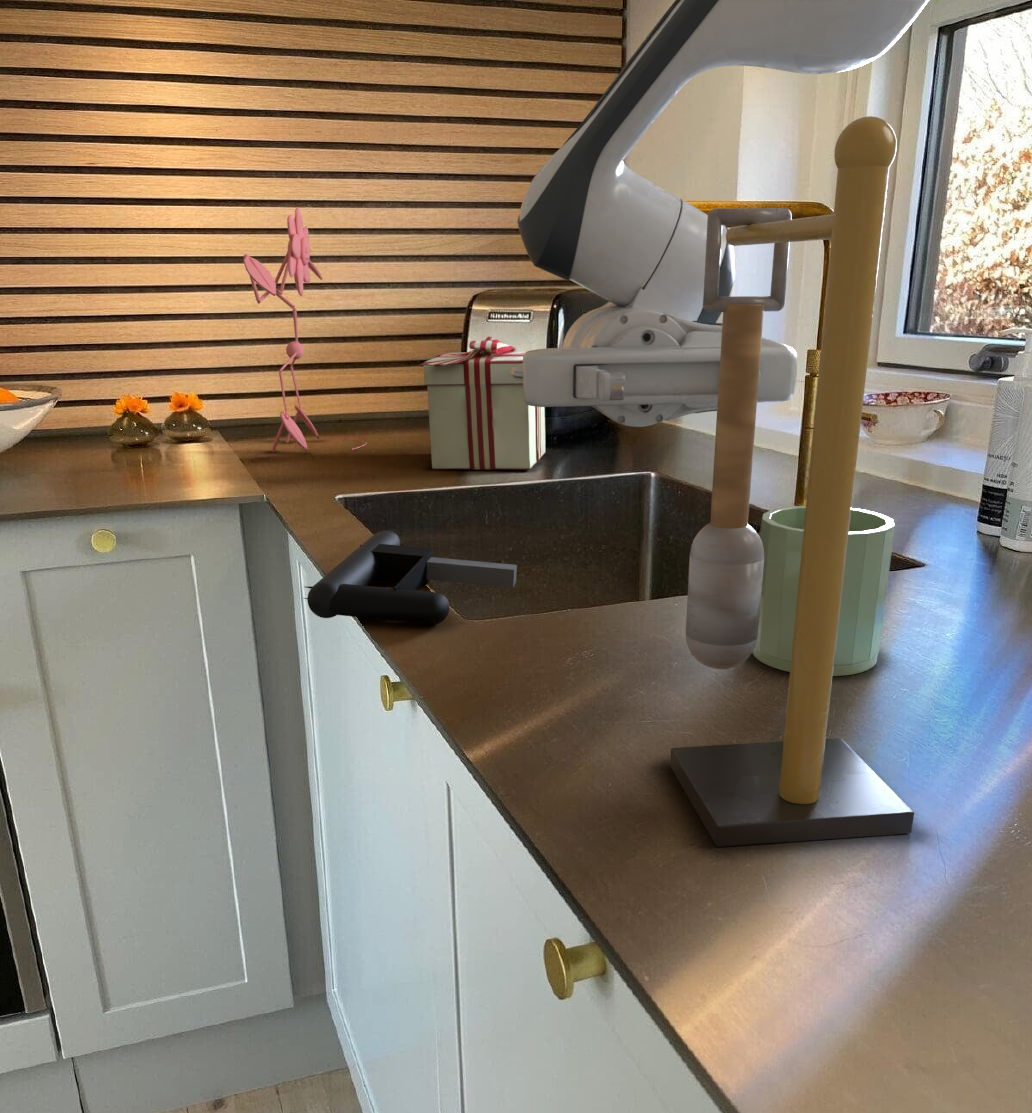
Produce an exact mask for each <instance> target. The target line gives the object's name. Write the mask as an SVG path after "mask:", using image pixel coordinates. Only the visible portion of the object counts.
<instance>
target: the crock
mask: <svg viewBox="0 0 1032 1113" xmlns="http://www.w3.org/2000/svg"><path fill="white" fill-rule="evenodd" d="M805 510H806V505H793V506H785V507H779V508H774V509H771V510H768V511H766V512H763V513H762V517H761V523H760V535H759V536H760V538H761V540H762V543H763V548H764V566H763V579H762V591H761V603H760V615H759V628H758V638H757V643H756V646H755V648H754V650H753V652H752V653H751V654H752V655H753V657H754V658H755V659H757V661H759V662H760V663H762V664H764V665H766V666H769V667H771V668H774V669H777V670H780V671H784V672H788V673H790V668H791V657H792V647H793V636H794V626H795V615H796V605H797V594H798V583H799V573H800V562H801V552H802V541H803V531H804V520H805ZM895 528H896V525H895V521H894V519H893V518H892V517H889V516H887V515H884V514H882V513H878V512H875V511H871V510H867V509H861V508H855V507H854V508H853V507H851V515H850V524H849V533H848V542H847V551H846V560H845V569H844V578H843V587H842V596H841V605H840V614H839V623H838V632H837V641H836V650H835V659H834V668H833V677H842V676H850V675H857V674H860V673H863V672H865V671H866V672H867V671H869V670H870V669H872V668H874V666H875V665H876V664H877V662H878V655H879V652H880V647H881V646H880V645H881V638H882V631H883V623H884V615H885V608H886V607H885V606H886V599H887V592H888V591H887V590H888V583H889V576H890V569H891V568H890V567H891V561H892V560H891V559H892V553H893V545H894V537H895Z"/></svg>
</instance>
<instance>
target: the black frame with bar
mask: <svg viewBox="0 0 1032 1113" xmlns="http://www.w3.org/2000/svg"><path fill="white" fill-rule="evenodd" d="M517 572H518V564H511V563H510V564H509V563H499V562H490V561H477V560H467V559H458V558H457V559H456V558H446V557H435V556H434V549H433V548H432V547H422V546H421V547H419V546H410V545H409V546H408V545H402V544H401V539H400V537H399V536H398V535H397V533H396V532H394V531H392V530H389V529H388V530H387V529H386V530H381V531H378V532H376V533H373V534H372V536H370V537H369V538H368V539H367V540H365V541H364V542H363V543H362V544H359V546H358V547H357V548H356V549H355V550H354V551H353V552H351V553H350V554H349V555H348V556H347V557H346V558H344V559H343V560H342V561H341V562H340V563H338V564H337V565H336V566H335V567H333V569H332V570H330V571H329V572H327V573H326V575H324V576H323V577H322V578H321V579H320V580H318V581H317V582H316V583H315V584H314V585H312V586H311V585H310V586H305V588H306V589H309V591H308V593H307V597H303V599H305V600H307V601H306V602H307V605H308V608H309V609H310V611H311V612H312V614H314V615H315V616H316V617H319V618H322V619H331V618H332V619H333V618H334V617H336V616H344V617H353V618H363V619H373V620H384V621H394V622H404V623H414V624H423V625H438V624H441V623H442V622H443V621H444V620H445V619H446V618H447V617H448V614H449V612H450V602H449V600H448V598H447V597H446V596H445V595H444V594H442V593H440V592H434V591H426V590H425V591H423V590H420V589H421V588H422V587H423V588H424V587H427V585H428V584H429V583H430V582H431V581H437V582H438V581H439V582H449V583H458V584H459V583H460V584H470V585H479V586H480V585H481V586H492V587H500V588H501V587H502V588H510V589H511V588H512V589H514V587H515V586H516V583H517ZM371 583H383V584H394V585H395V586H394V587H393V588H392V587H383V586H382V587H380V586H370V584H371Z"/></svg>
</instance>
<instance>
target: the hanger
mask: <svg viewBox="0 0 1032 1113" xmlns="http://www.w3.org/2000/svg"><path fill="white" fill-rule="evenodd" d="M897 144H898V143H897V136H896V133H895V131H894V129H893V128H892V126H891V124H889V123H888V122H887V121H886V120H884V119H883V118H880V117H878V116H872V115H871V116H869V115H867V116H863V117H859V118H856V119H855V120H853V121H851V122H850V123H849V124H847V125H846V126H845V128H844V129H843V130H842V131H841V133H840V134H839V136H838V137H837V140H836V142H835V146H834V151H833V154H834V156H833V158H834V162H835V167H836V169H837V174H836V185H835V193H834V204H833V214H825V215H817V216H816V215H815V216H807V217H799V218H791V220H783V221H775V222H767V223H759V224H751V225H734V226H731V227H729V228H728V231H727V233H726V241H727V243H728V244H729V245H731V246H733V247H737V246H738V247H739V246H755V245H766V244H769V245H770V244H774V243H784V242H790V243H796V242H809V241H811V242H813V241H825V240H826V241H827V240H830V246H829V258H828V268H827V269H828V270H827V280H826V289H825V299H824V300H825V301H824V309H823V310H824V311H823V321H822V331H821V332H822V333H821V342H820V351H819V363H818V375H817V383H816V384H817V385H816V394H815V406H814V415H813V425H812V426H813V427H812V437H811V448H810V458H809V468H808V478H807V480H808V481H807V490H806V500H805V506H806V510H805V520H804V531H803V541H802V552H801V562H800V573H799V583H798V594H797V605H796V615H795V626H794V636H793V647H792V657H791V668H790V672H789V678H788V680H789V681H788V689H787V701H786V711H785V721H784V722H785V723H784V731H783V732H784V733H783V740H780V741H766V742H765V741H764V742H750V743H749V742H747V743H731V744H729V743H728V744H715V745H712V744H711V745H698V746H697V745H695V746H683V747H682V746H681V747H679V746H678V747H671V748H670V758H669V760H670V761H669V767H670V769H671V770H672V772H673V774H674V776H675V777H676V780H677V781H678V783H679V784H680V786H681V788H682V789H683V791H684V793H685V794H686V796H687V798H688V800H689V802H690V804H691V805H692V807H693V809H694V810H695V812H696V814H697V815H698V817H699V819H700V821H701V822H702V824H703V826H704V827H705V829H706V831H707V833H708V834H709V836H710V838H711V839H712V841H713V843H714V844H715V847H716V848H722V847H735V846H748V845H763V844H765V845H766V844H777V843H778V844H779V843H791V842H802V841H803V842H804V841H806V842H807V841H819V840H821V841H822V840H833V839H834V840H835V839H847V838H848V839H849V838H862V837H864V838H865V837H875V836H876V837H877V836H891V835H904V834H911V833H912V831H913V823H914V817H915V811H914V810H912V809H911V808H910V806H908V805H907V803H905V801H904V800H903V799H902V798H901V797H900V796H899V795H898V794H897V793H896V792H895V791H894V790H893V789H892V788H891V787H890V786H889V785H888V784H887V783H886V782H885V781H884V780H883V779H882V777H880V776H879V775H878V774H877V773H876V772H875V771H874V770H873V769H872V768H871V767H870V766H869V765H868V764H867V763H866V761H865V760H863V759H862V757H860V756H859V755H858V753H857V752H855V751H854V749H853V748H851V747H850V745H849V744H848V743H847V742H846V741H844V739H843V738H842V737H832V738H831V737H830V738H827V730H828V721H829V712H830V705H831V704H830V702H831V696H832V695H831V693H832V685H833V678H834V676H833V668H834V659H835V650H836V641H837V632H838V623H839V614H840V605H841V596H842V587H843V578H844V569H845V560H846V551H847V542H848V533H849V524H850V515H851V508H852V507H853V506H852V505H853V497H854V489H855V488H854V487H855V478H856V468H857V460H858V451H859V443H860V432H861V425H862V416H863V407H864V399H865V389H866V379H867V373H868V372H867V371H868V361H869V354H870V353H869V352H870V344H871V336H872V335H871V334H872V327H873V326H872V324H873V317H874V310H875V309H874V307H875V299H876V291H877V290H876V289H877V280H878V274H879V272H878V271H879V263H880V254H881V246H882V237H883V226H884V218H885V211H886V210H885V208H886V202H887V200H886V199H887V193H888V192H887V190H888V182H889V174H890V168H891V165H892V164H893V162H894V160H895V158H896V153H897V150H898V148H897V147H898V146H897Z"/></svg>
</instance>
